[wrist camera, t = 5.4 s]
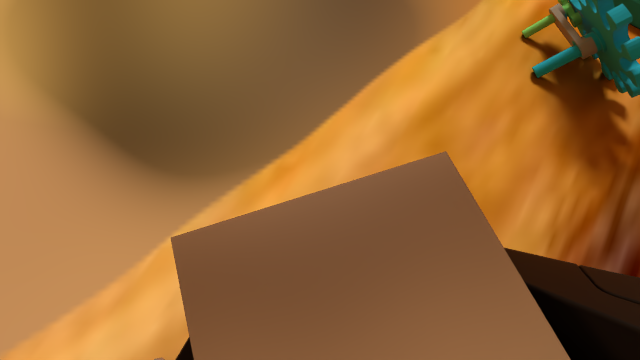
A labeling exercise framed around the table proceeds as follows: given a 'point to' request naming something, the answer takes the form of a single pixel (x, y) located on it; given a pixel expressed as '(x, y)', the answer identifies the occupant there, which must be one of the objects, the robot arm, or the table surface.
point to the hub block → (361, 277)
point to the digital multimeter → (631, 10)
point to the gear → (595, 40)
